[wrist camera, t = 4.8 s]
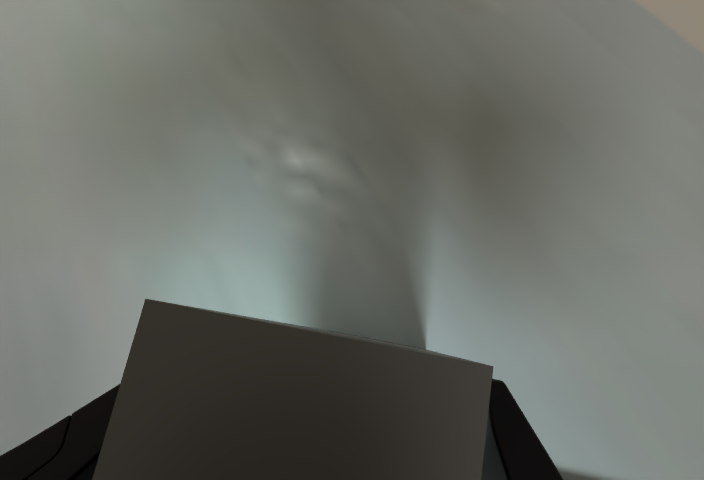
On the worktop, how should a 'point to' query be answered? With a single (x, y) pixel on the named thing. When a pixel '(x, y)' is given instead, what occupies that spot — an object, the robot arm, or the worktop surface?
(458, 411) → the dark grey block
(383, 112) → the worktop surface
